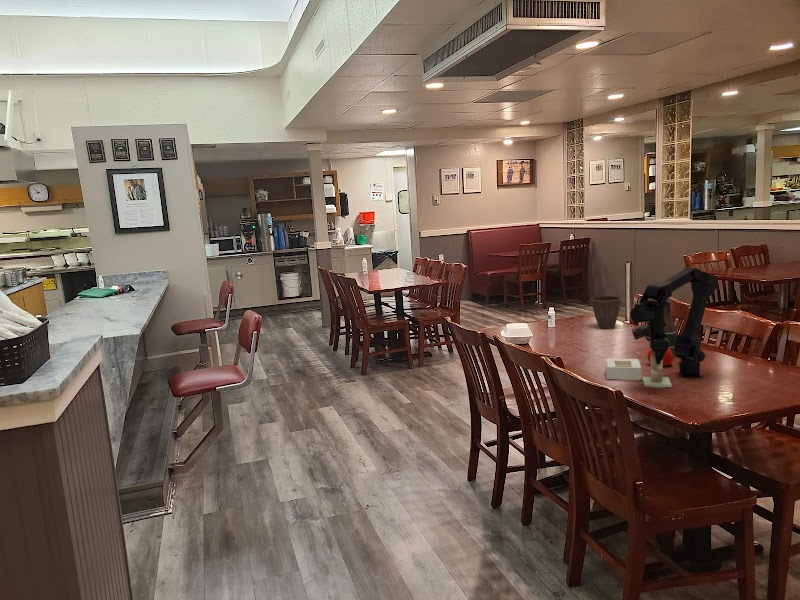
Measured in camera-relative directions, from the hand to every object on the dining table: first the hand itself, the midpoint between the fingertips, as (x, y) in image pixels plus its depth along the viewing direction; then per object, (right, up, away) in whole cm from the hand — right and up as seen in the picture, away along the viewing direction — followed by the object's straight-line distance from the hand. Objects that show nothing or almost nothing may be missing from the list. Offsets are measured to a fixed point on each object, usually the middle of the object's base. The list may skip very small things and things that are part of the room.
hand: (656, 360), depth 208 cm
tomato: (+12, -4, +24) cm, 27 cm away
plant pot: (+16, +7, +95) cm, 96 cm away
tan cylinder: (+1, -8, +1) cm, 8 cm away
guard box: (-7, -7, +13) cm, 17 cm away
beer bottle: (+20, -2, +36) cm, 41 cm away
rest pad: (+1, -9, +1) cm, 9 cm away
